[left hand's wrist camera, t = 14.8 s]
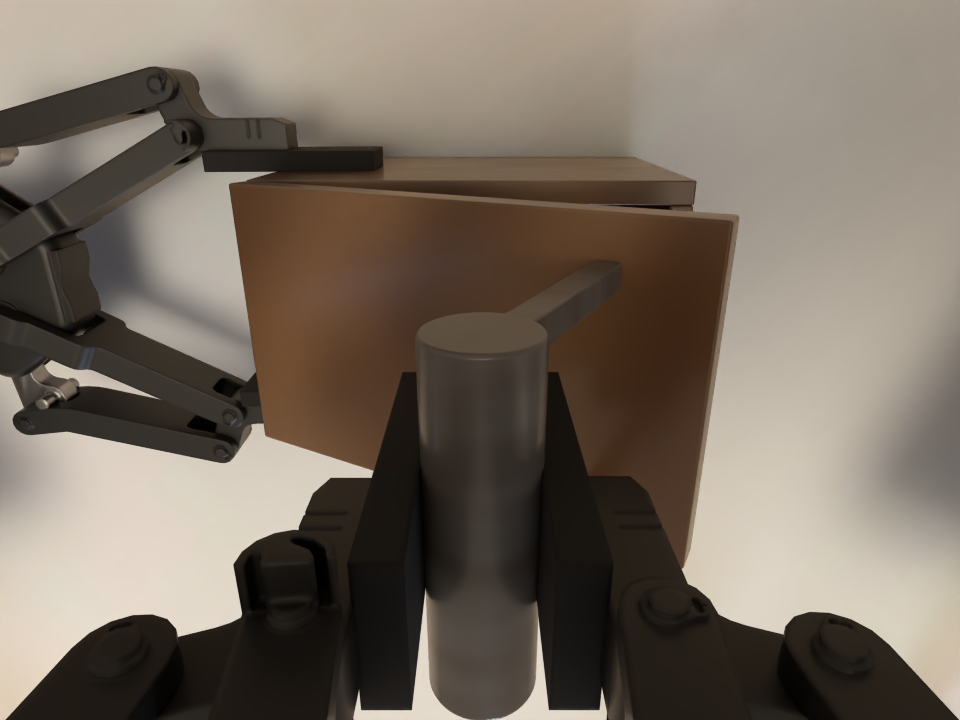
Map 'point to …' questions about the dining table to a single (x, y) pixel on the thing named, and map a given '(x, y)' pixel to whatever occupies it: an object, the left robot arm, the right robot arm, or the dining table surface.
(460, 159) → the chest
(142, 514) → the dining table surface
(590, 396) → the lid
